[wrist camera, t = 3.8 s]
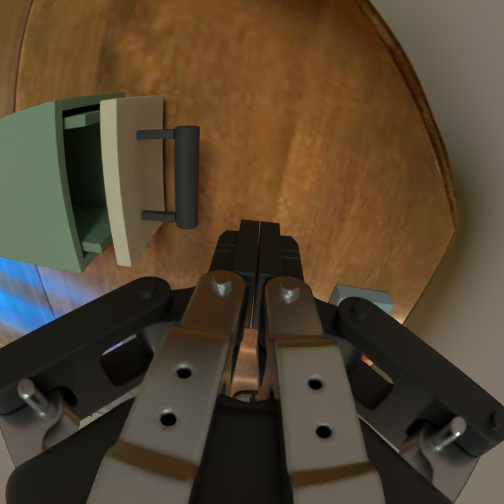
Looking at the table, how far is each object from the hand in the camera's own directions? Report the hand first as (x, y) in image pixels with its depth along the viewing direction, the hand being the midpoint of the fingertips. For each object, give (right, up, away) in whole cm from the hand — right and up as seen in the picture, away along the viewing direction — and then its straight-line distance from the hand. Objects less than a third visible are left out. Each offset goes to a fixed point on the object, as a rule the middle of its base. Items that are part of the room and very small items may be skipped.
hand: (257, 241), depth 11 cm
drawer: (-12, +8, +11) cm, 18 cm away
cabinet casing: (-19, +9, +11) cm, 24 cm away
